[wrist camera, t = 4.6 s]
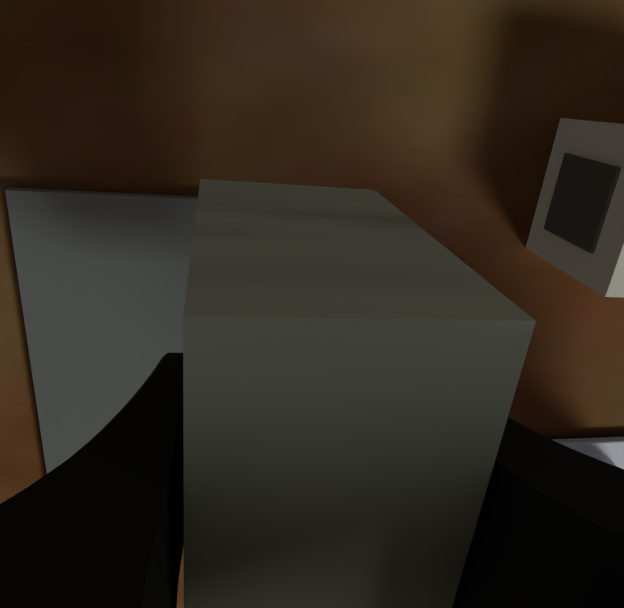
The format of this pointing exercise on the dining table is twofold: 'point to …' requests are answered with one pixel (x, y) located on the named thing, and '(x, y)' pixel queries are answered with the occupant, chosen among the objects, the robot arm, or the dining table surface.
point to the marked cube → (584, 205)
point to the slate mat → (97, 300)
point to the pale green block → (335, 401)
